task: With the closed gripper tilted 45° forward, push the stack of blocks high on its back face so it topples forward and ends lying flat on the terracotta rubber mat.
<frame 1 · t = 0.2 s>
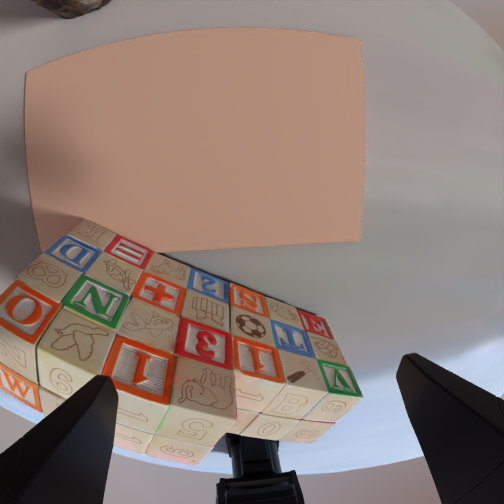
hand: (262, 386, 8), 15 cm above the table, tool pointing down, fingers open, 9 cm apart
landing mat: (182, 138, 18), on the table
stack of blocks: (196, 302, 23), on the table, touching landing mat
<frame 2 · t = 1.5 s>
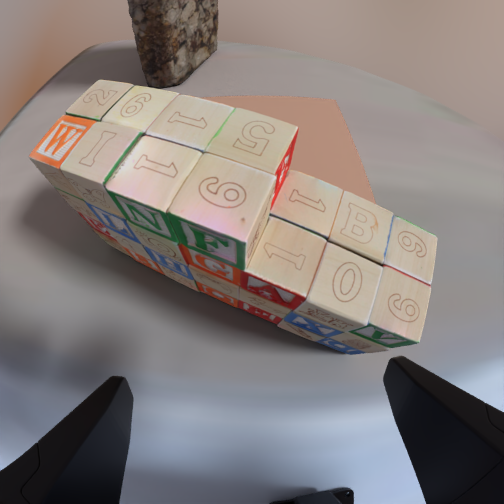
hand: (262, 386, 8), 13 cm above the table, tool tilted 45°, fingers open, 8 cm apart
stone block: (184, 67, 34), on the table
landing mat: (230, 146, 28), on the table
stack of blocks: (236, 265, 22), on the table, touching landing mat
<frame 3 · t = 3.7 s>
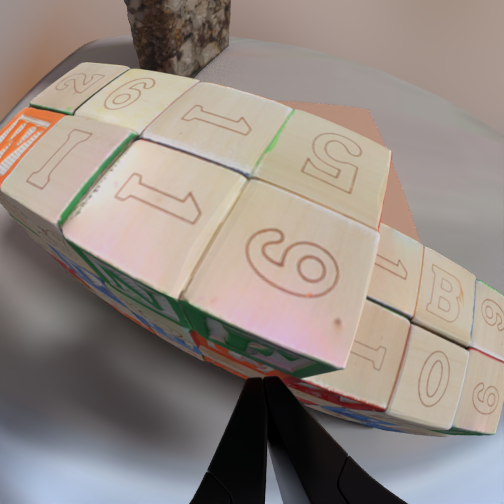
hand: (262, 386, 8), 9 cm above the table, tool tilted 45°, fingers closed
stone block: (190, 65, 29), on the table
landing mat: (244, 165, 22), on the table
stack of blocks: (252, 327, 17), on the table, touching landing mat
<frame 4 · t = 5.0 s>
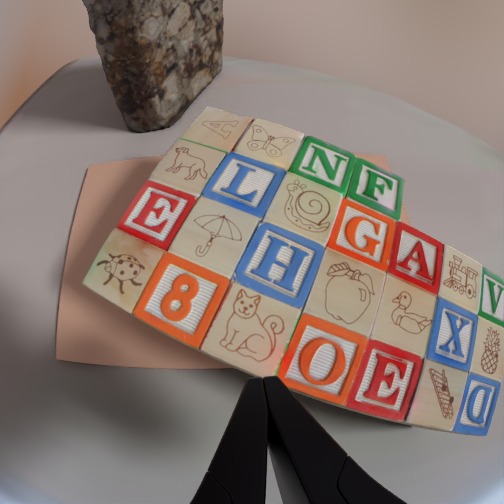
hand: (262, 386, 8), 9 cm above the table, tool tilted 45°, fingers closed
stone block: (177, 97, 27), on the table
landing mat: (243, 244, 20), on the table
stack of blocks: (292, 397, 12), point 4 cm above the table, touching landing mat
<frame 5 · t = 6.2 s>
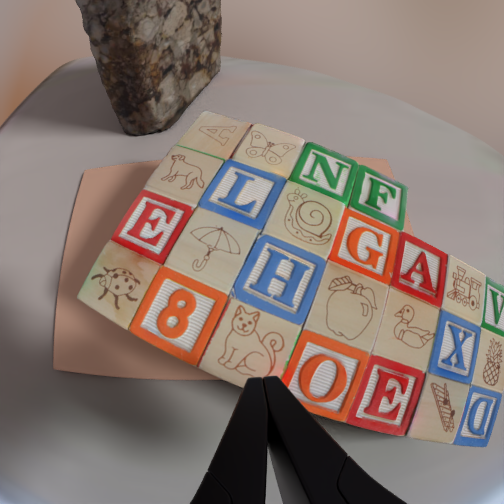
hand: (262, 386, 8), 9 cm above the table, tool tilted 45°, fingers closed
stone block: (175, 98, 26), on the table
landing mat: (241, 252, 19), on the table
stack of blocks: (292, 410, 12), point 4 cm above the table, touching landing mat
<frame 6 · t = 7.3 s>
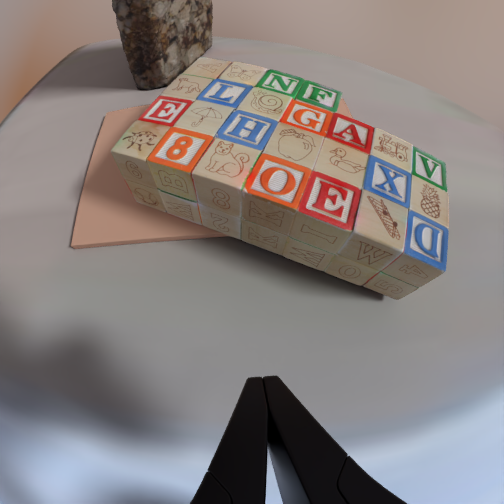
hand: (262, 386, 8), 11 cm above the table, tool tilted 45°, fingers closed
stone block: (176, 66, 31), on the table
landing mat: (227, 154, 24), on the table
stack of blocks: (262, 231, 17), point 4 cm above the table, touching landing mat
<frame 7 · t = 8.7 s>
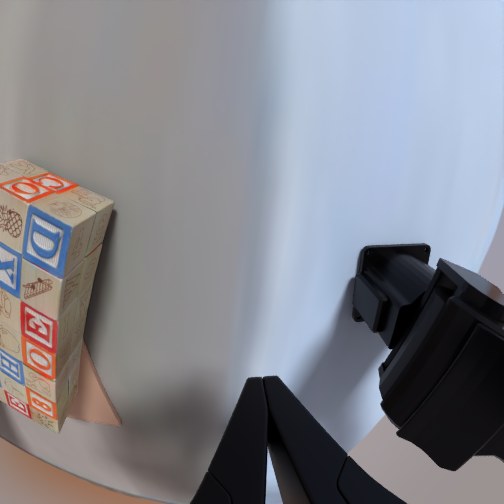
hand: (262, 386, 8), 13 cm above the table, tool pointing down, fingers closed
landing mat: (20, 327, 21), on the table
stack of blocks: (75, 345, 18), point 4 cm above the table, touching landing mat
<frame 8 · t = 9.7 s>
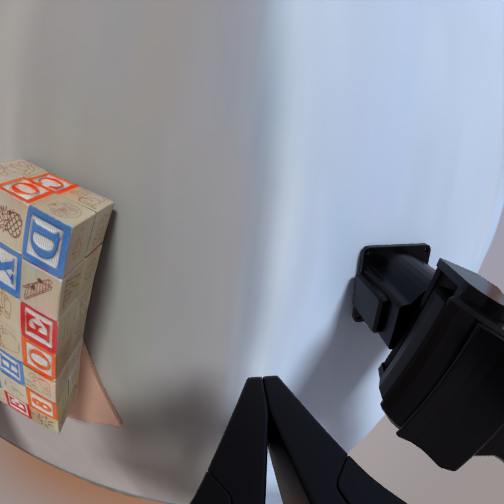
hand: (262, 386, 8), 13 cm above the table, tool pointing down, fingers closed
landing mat: (20, 328, 21), on the table
stack of blocks: (75, 345, 18), point 4 cm above the table, touching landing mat
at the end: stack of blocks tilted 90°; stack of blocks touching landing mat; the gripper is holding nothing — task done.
